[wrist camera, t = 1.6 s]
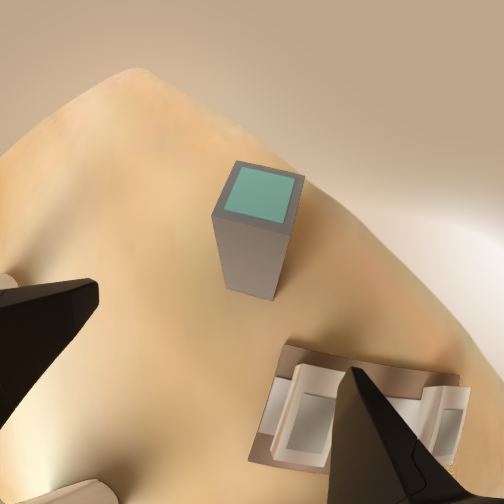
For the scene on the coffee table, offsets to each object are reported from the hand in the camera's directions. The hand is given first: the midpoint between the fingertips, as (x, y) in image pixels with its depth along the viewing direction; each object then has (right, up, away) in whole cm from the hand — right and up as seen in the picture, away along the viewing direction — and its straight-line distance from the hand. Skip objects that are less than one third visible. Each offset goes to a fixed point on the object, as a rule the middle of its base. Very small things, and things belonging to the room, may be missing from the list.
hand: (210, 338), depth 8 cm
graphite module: (+2, +1, +16) cm, 16 cm away
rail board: (+11, -11, +10) cm, 19 cm away
